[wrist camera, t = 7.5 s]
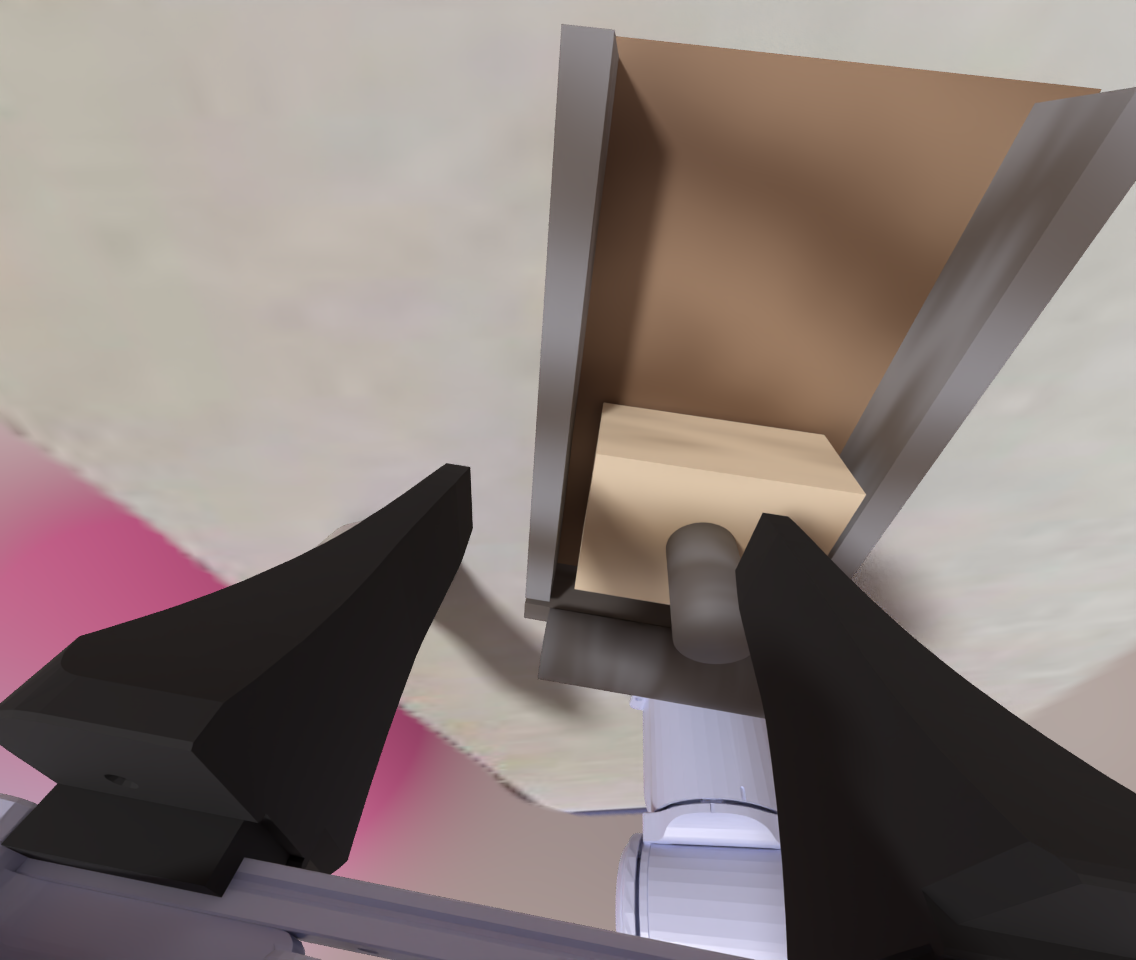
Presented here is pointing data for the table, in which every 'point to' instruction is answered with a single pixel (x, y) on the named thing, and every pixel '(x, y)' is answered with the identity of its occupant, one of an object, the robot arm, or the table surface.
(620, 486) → the tan wooden block
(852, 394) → the bay
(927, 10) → the table surface
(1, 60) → the table surface
